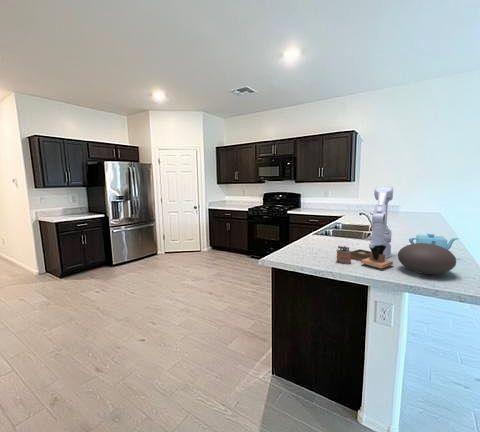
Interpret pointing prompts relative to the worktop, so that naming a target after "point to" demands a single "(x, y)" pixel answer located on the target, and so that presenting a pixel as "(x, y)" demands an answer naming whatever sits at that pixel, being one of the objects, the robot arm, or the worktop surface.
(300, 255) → the worktop surface
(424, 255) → the smooth stone
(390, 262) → the lid
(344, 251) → the ornate red tin
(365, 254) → the box
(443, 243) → the teakettle
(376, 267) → the mat
